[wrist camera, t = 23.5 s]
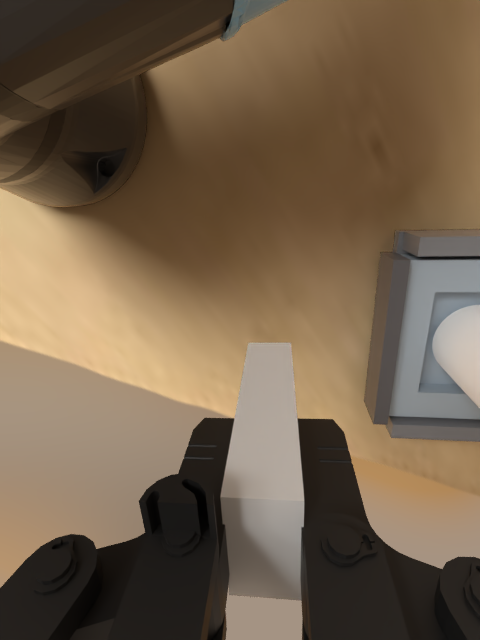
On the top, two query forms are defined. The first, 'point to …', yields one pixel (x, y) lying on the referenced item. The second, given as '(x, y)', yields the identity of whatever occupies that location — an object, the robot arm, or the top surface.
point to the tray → (417, 336)
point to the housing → (436, 245)
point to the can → (460, 349)
